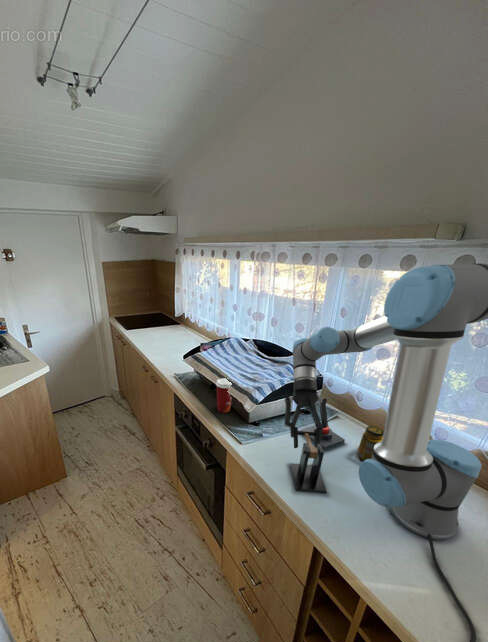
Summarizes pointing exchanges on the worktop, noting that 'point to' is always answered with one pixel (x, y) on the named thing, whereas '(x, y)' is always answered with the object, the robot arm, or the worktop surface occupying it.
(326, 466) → the worktop surface
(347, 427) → the worktop surface
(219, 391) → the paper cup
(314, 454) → the small hammer
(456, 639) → the worktop surface
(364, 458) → the condiment
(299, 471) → the rod bracket
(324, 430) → the button
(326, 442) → the button box
